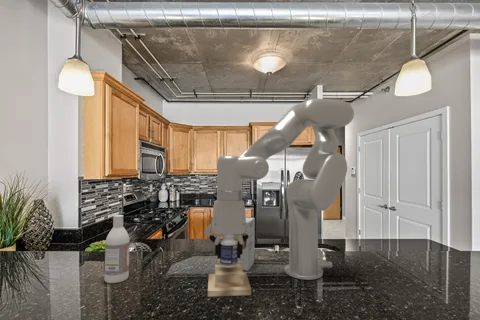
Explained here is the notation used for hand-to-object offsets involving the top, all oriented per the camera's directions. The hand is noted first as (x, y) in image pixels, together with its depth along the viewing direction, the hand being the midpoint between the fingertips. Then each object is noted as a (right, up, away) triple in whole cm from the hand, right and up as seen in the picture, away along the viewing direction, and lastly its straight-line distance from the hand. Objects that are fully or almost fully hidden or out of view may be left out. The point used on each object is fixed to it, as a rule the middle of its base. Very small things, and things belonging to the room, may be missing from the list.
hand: (228, 256), depth 76 cm
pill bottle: (0, -3, 0) cm, 3 cm away
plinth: (0, -9, 0) cm, 9 cm away
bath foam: (-36, -9, +4) cm, 37 cm away
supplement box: (+3, -10, +17) cm, 20 cm away
